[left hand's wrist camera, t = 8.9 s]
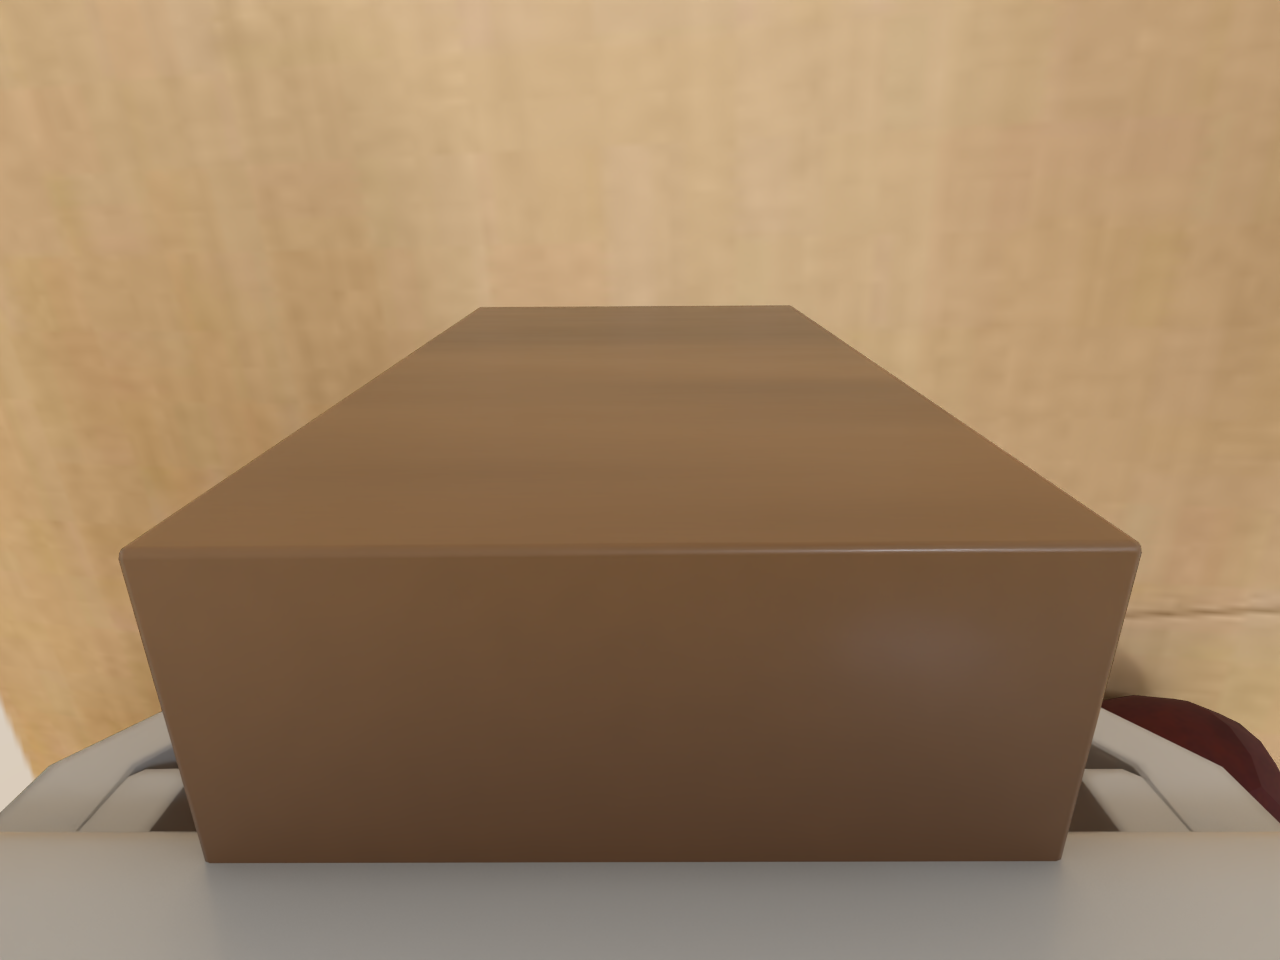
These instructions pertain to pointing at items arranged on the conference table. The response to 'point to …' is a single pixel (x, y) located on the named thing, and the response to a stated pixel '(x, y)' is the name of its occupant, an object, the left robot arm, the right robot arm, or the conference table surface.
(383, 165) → the conference table surface
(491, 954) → the left robot arm
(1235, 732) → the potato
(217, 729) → the box
